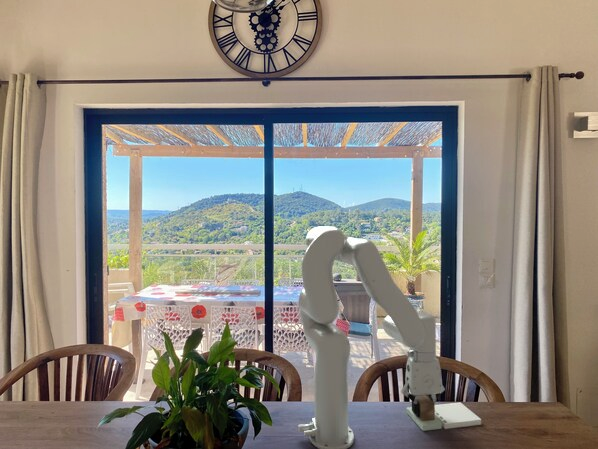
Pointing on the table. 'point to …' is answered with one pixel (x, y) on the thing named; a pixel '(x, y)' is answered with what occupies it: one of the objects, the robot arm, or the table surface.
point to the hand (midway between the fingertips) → (423, 413)
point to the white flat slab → (455, 415)
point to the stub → (425, 414)
